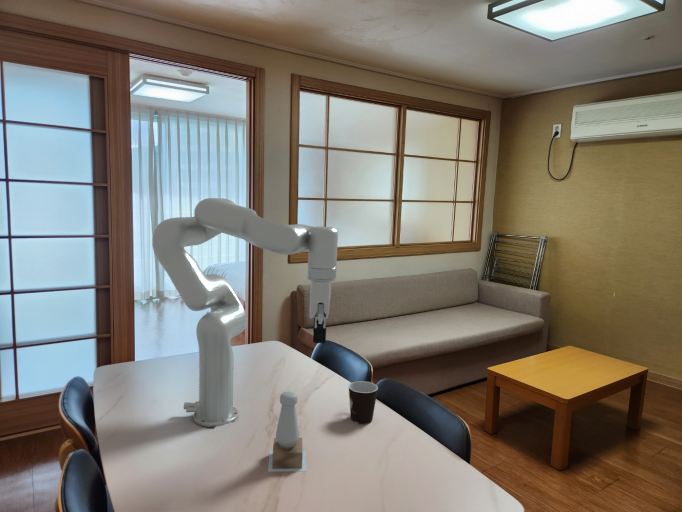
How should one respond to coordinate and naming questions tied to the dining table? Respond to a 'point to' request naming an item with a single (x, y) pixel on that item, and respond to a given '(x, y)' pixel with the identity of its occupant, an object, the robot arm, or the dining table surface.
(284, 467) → the base block
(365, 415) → the coffee mug
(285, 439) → the salt shaker
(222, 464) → the dining table surface
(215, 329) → the robot arm
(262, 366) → the dining table surface
